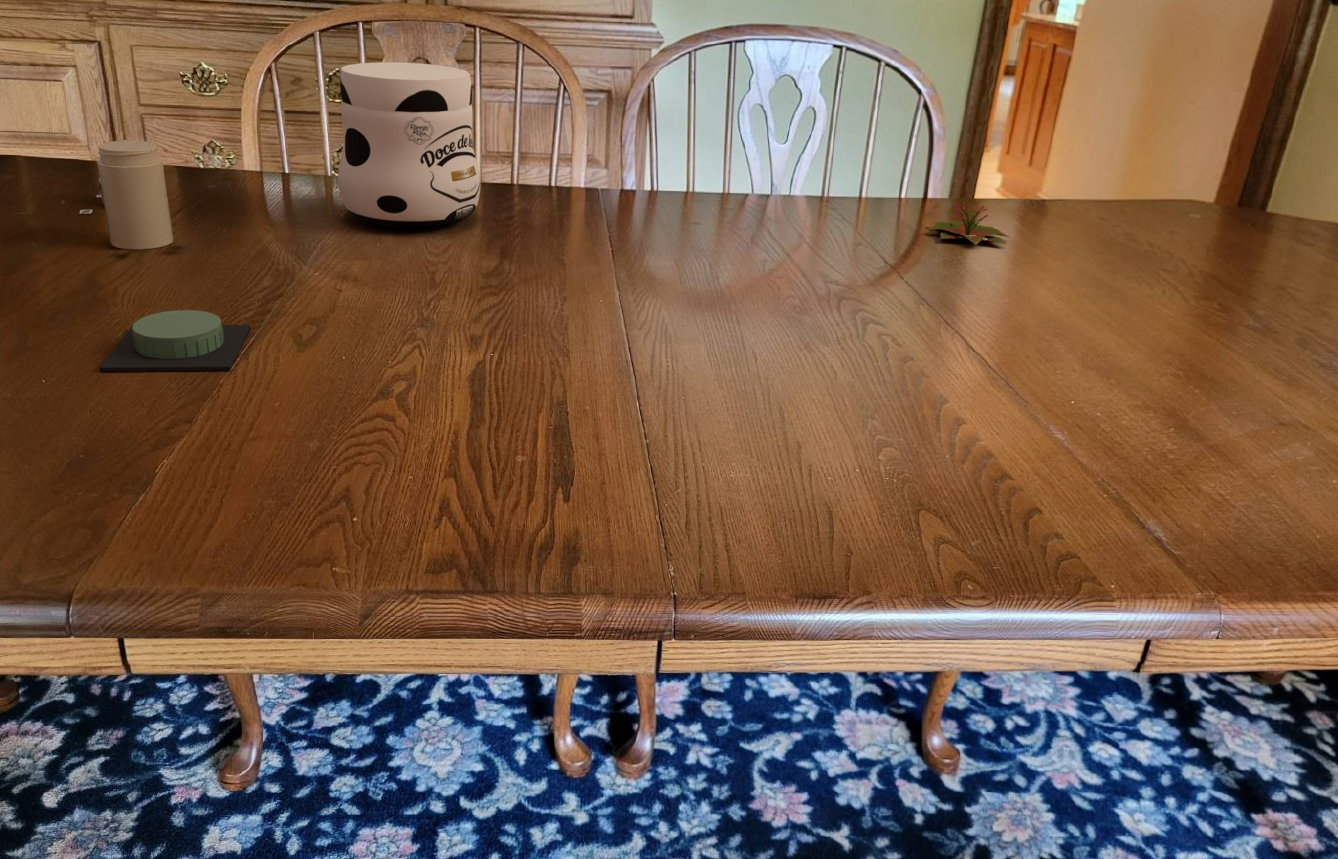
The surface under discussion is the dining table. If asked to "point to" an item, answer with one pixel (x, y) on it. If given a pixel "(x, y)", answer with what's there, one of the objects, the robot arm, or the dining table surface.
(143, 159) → the honey jar
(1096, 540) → the dining table surface
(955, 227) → the lily flower
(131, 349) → the coaster
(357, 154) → the milk container
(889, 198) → the dining table surface
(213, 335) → the honey lid
